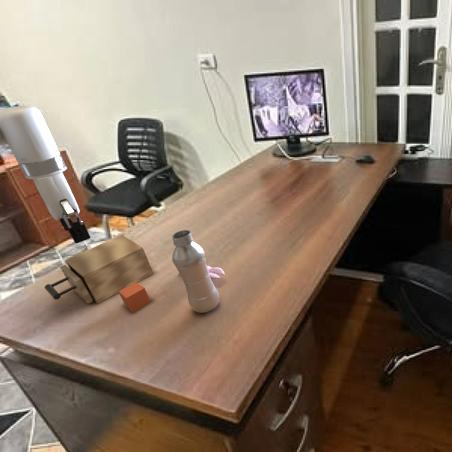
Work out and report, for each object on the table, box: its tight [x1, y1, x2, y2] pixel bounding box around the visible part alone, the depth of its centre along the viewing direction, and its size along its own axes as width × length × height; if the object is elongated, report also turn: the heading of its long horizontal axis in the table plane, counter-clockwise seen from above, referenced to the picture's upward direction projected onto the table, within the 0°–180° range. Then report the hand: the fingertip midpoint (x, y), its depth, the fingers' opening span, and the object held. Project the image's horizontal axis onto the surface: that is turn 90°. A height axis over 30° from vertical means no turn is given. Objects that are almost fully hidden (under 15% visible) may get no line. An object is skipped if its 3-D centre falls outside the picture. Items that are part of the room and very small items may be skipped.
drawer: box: [44, 264, 94, 304], centre depth 90 cm, size 18×11×7 cm, turn 141°
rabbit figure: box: [178, 265, 225, 279], centre depth 91 cm, size 6×6×15 cm
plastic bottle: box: [171, 229, 220, 314], centre depth 78 cm, size 6×7×20 cm
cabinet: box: [64, 234, 154, 304], centre depth 93 cm, size 15×13×9 cm
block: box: [118, 282, 151, 313], centre depth 85 cm, size 4×4×4 cm
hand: (77, 234), depth 84 cm, fingers open, 9 cm apart
